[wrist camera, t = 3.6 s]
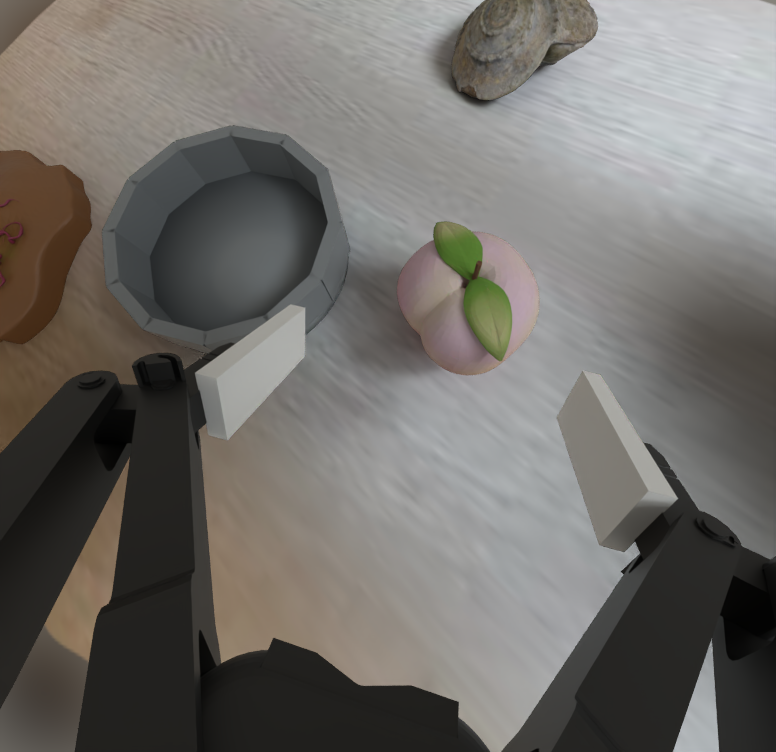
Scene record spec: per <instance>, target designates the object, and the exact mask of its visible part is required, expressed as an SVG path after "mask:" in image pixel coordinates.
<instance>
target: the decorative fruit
mask: <svg viewBox="0 0 776 752" xmlns="http://www.w3.org/2000/svg"><path fill="white" fill-rule="evenodd" d="M433 237H434V240H433V241H431V242H429V243H427V244H426V245H424V246H423V247H421V248H420V249H419V250H418V251H417V252H416V253H415V254H414V255H413V256H412V257H411V258H410V259H409V260H408V262H407V263H406V265H405V266H404V267H403V269H402V271H401V274H400V276H399V279H398V285H397V296H398V302H399V306H400V308H401V311H402V313H403V315H404V317H405V318H406V320H407V322H408V323H409V324H410V326H411V327H412V328H413V329H414V330H415V331H416V332H417V333H418V334H419V335H420V336H421V340H422V345H423V347H424V349H425V351H426V353H427V354H428V356H429V357H430V358H431V359H432V360H433V361H434V362H435V363H437V364H438V365H439V366H441V367H442V368H444V369H446V370H448V371H450V372H453V373H456V374H461V375H477V374H482V373H485V372H488V371H490V370H492V369H494V368H495V367H497V366H498V365H500V364H501V363H502V362H503V361H505V360H506V359H507V358H508V357H509V356H510V355H511V354H512V353H513V352H515V351H516V350H517V349H518V348H519V346H520V345H521V344H522V343H523V342H524V341H525V340H526V339H527V337H528V336H529V335H530V333H531V331H532V329H533V328H534V326H535V323H536V320H537V317H538V313H539V291H538V286H537V282H536V279H535V277H534V275H533V273H532V271H531V269H530V268H529V266H528V265H527V263H526V262H525V260H524V259H523V258H522V257H521V255H520V254H519V253H518V252H517V251H516V250H515V249H514V248H513V247H512V246H511V245H510V244H509V243H507V242H506V241H504V240H503V239H501V238H499V237H496V236H494V235H491V234H487V233H483V232H471V231H470V230H469V229H467V228H465V227H463V226H461V225H459V224H456V223H452V222H438V223H436V225H435V227H434V234H433Z"/></svg>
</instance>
